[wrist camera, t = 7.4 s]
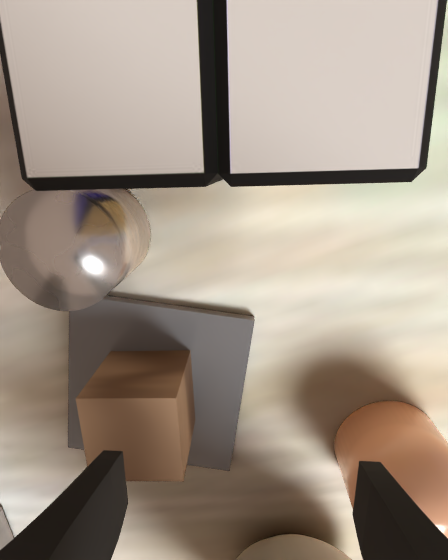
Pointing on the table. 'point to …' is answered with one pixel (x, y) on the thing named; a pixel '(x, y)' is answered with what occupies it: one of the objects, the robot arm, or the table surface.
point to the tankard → (4, 530)
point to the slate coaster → (166, 337)
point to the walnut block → (141, 412)
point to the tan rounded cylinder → (398, 453)
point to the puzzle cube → (220, 91)
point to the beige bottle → (292, 549)
